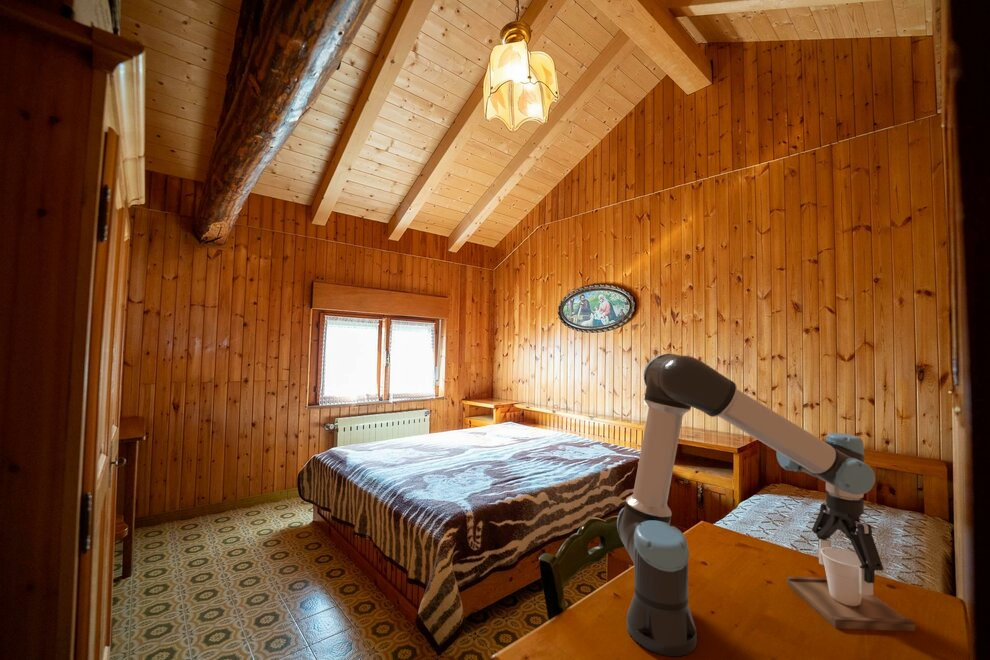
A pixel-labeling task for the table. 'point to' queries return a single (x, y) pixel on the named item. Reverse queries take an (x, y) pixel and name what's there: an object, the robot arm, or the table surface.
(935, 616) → the table surface
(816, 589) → the board
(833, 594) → the cup
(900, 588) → the table surface
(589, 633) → the table surface
